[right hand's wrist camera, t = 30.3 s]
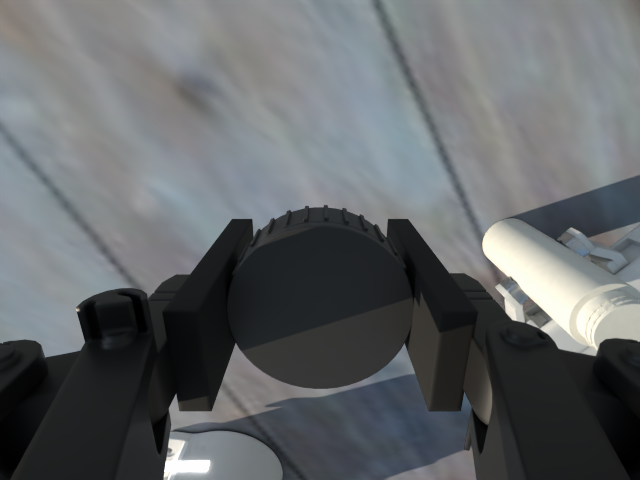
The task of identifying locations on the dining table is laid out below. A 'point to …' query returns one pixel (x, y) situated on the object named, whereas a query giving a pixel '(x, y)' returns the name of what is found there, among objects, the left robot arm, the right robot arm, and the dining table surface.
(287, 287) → the lid
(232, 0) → the dining table surface
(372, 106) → the dining table surface
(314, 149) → the dining table surface
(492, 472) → the right robot arm
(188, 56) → the dining table surface
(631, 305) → the jar
